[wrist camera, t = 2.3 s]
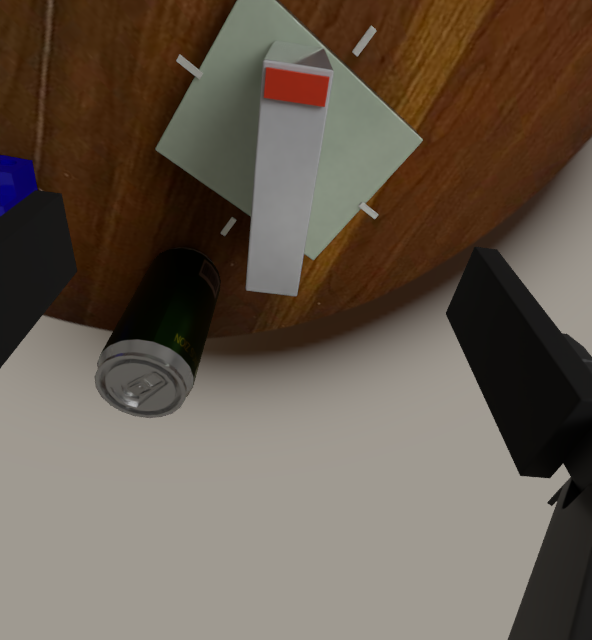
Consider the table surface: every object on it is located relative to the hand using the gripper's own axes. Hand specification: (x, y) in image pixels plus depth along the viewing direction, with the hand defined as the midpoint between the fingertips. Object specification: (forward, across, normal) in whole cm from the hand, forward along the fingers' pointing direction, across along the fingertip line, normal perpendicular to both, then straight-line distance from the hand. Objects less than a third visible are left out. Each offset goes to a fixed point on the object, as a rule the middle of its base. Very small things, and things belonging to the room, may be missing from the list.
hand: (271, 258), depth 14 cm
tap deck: (+16, 0, 0) cm, 16 cm away
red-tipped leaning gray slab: (+13, 0, 0) cm, 13 cm away
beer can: (+16, -6, -11) cm, 21 cm away
